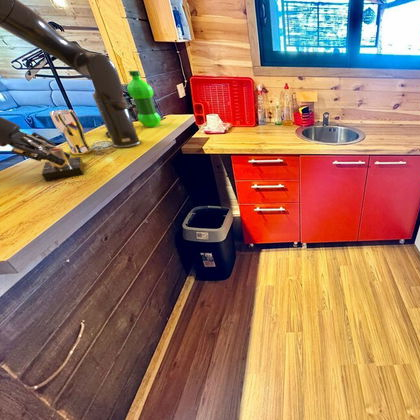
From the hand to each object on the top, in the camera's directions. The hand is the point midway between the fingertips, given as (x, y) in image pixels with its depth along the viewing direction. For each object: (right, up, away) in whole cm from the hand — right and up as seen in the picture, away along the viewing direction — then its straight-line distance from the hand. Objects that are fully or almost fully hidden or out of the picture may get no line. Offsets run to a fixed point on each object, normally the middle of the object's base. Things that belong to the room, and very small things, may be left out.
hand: (66, 160), depth 83 cm
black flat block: (-3, -3, +3) cm, 5 cm away
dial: (-2, -2, 0) cm, 2 cm away
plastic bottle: (-6, +28, +50) cm, 57 cm away
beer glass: (-11, +7, +17) cm, 22 cm away
